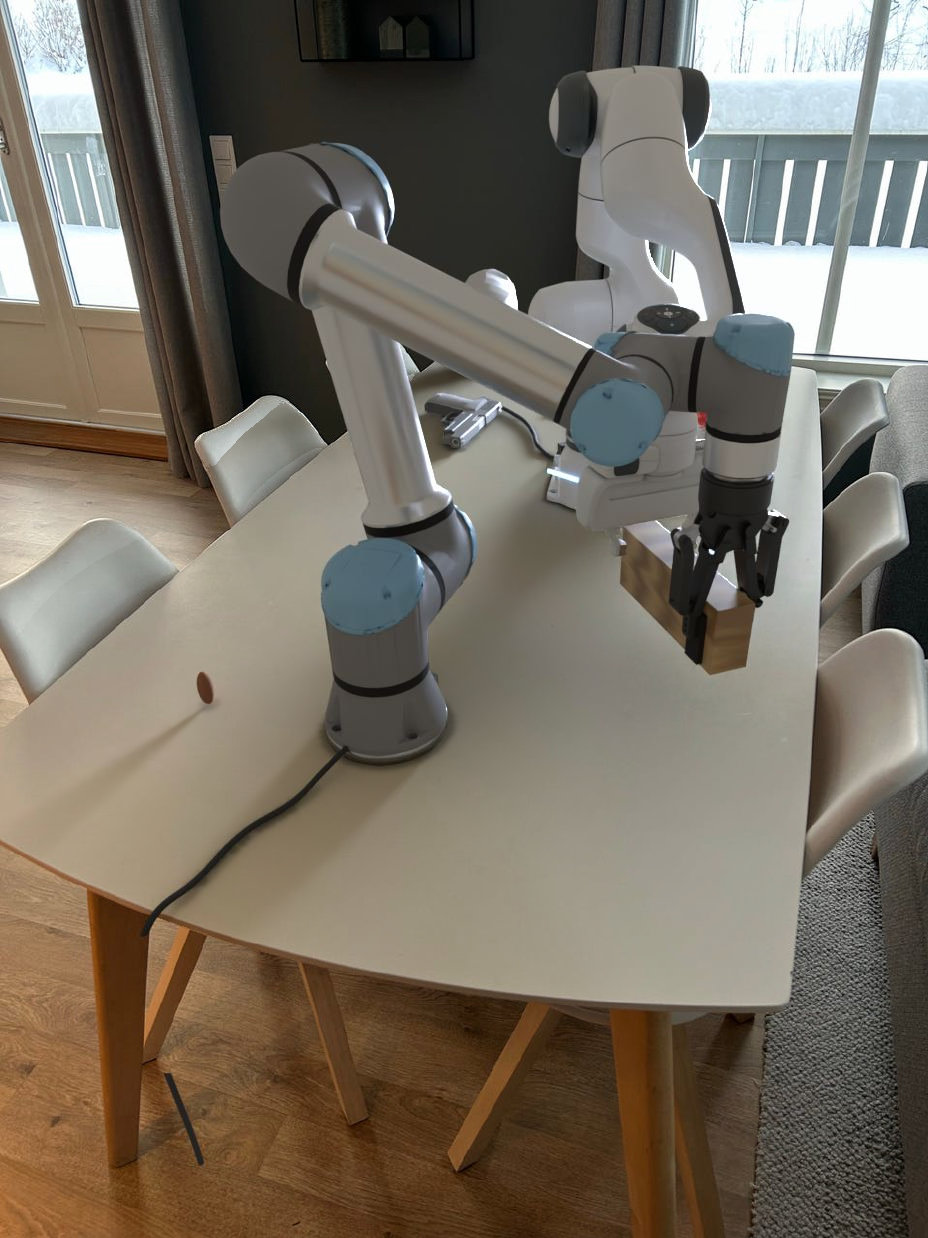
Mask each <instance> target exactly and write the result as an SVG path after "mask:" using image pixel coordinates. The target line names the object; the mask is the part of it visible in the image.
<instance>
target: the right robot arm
mask: <svg viewBox="0 0 928 1238" xmlns="http://www.w3.org/2000/svg"><path fill="white" fill-rule="evenodd" d="M711 113H712V97H711V93H710V84H709V81H708V79H707V77H706V76H705V74H704V72H703V71H702V70H699V69H697V68H693V67H689V66H683V65H679V66H678V67H677V68H675V67H668V66H656V65H631V66H630V67H617V68H615V67H614V68H607V69H600V70H595V71H589V72H587V71H586V70H584V69H583V70H579V71H575V72H572V73H568V74H566V75H564V76H563V77H562V78H561V79H560V80H559V82H558V83H556V85H555V90H554V93H553V95H552V97H551V101H550V104H549V110H548V124H549V130H550V133H551V137H552V139H553V141H554V146H555V147H556V149H558V151H559V152H560V153H561V154H563V155H565V156H569V157H572V158H579V159H581V160H580V167H579V176H578V187H577V205H576V206H577V208H576V221H575V222H576V224H575V239H576V243H577V245H578V247H579V249H580V250H581V251H582V252H583V253H584V254H585V255H586V256H587V257H589V258H591V259H593V260H595V261H596V262H598V263H601V264H603V265H604V266H607V267H608V268H609V274H608V277H606V278H603V279H589V280H572V281H563V282H559V283H556V284H553V285H549V286H545V287H542V288H540V289H538V290H537V292H536V293H535V294H534V296H533V297H532V299H531V302H530V304H529V307H528V311H527V315H529V316H531V317H533V318H535V319H537V320H539V321H541V322H543V323H545V324H547V325H549V326H551V327H553V328H555V329H557V330H559V331H561V332H563V333H565V334H567V335H569V336H571V337H573V338H575V339H577V340H579V341H581V342H583V343H585V344H587V345H589V346H591V348H594V344H595V342H596V340H597V338H598V337H599V336H600V335H602V334H603V333H607V332H627V331H636V332H640V333H654V334H670V335H686V336H705V337H706V336H713V334H714V332H715V330H716V326H717V323H718V321H719V320H720V319H722V318H724V317H725V316H728V315H732V314H747V313H748V312H747V309H746V306H745V302H744V298H743V295H742V290H741V285H740V282H739V277H738V273H737V269H736V265H735V261H734V255H733V252H732V248H731V243H730V239H729V235H728V232H727V228H726V225H725V221H724V217H723V215H722V212H721V209H720V207H719V205H718V202H717V200H716V199H715V198H714V197H712V196H710V195H709V194H707V193H705V192H704V191H703V190H702V188H701V187H700V186H699V184H698V183H697V181H696V179H695V177H694V176H693V173H692V171H691V168H690V165H689V155H688V151H690V150H692V149H694V148H695V147H696V146H697V145H698V144H699V143H700V142H701V141H702V140H703V138H704V136H705V133H706V130H707V127H708V125H709V121H710V117H711ZM649 242H650V243H652V244H657V245H658V246H659V245H660V246H662V247H665V248H666V249H669V250H672V251H674V252H676V253H678V254H680V255H681V256H683V257H684V258H686V259H687V260H688V261H689V262H690V264H692V266H693V268H694V269H695V272H696V276H697V280H698V284H699V289H700V293H701V297H702V302H703V307H704V310H705V315H706V318H704V319H702V318H701V317H700V315H699V314H698V313H697V312H696V311H695V310H693V309H692V308H690V307H687V306H684V305H682V300H681V297H680V293H679V292H678V290H677V288H676V286H675V285H674V284H673V283H672V282H671V281H670V280H669V279H668V278H666V277H665V276H664V275H663V274H662V273H661V272H660V271H659V270H658V268H657V266H656V265H655V263H654V261H653V258H652V257H651V253H650V249H649ZM501 410H502V412H503V411H504V412H505V413H507V414H509V415H511V416H512V417H514V418H516V419H518V421H520V422H521V423H523V424H524V425H525V427H527V429H528V431H529V432H530V434H531V436H532V440H533V444H534V446H535V448H537V449H538V451H539V452H540V453H542V455H544V456H545V457H547V458H548V459H550V460H553V467H554V469H551V468H547V470H546V472H547V474H551V478H550V481H549V486H548V490H547V491H546V497H545V498H546V500H547V501H549V502H553V503H558V504H561V505H563V506H565V507H567V508H570V509H573V510H575V515H576V516H575V517H576V519H577V520H578V522H579V523H580V524H581V525H582V526H583V527H584V528H585V529H587V530H588V531H589V532H591V533H596V532H600V531H603V532H604V534H605V535H606V537H607V539H608V540H609V541H610V542H609V552H610V554H611V555H612V556H613V558H618V557H621V556H623V555H626V551H625V550H626V548H627V544H626V543H625V542H623V538H622V537H620V538H618V537H617V535H619V534H620V533H621V528H623V527H625V526H630V525H635V524H641V523H646V522H652V521H660V520H665V519H666V520H667V519H672V518H677V517H682V516H686V517H685V519H684V521H683V523H682V525H681V526H679V527H677V528H678V529H680V530H681V531H682V530H684V529H686V528H688V527H689V526H691V525H693V523H694V519H695V517H696V516H697V514H698V511H699V502H698V491H699V482H700V473H701V470H702V469H703V468H704V466H703V464H702V458H703V449H704V439H702V440H696V437H697V426H698V419H697V414H696V413H691V412H678V411H669V412H668V414H667V415H666V417H665V420H664V422H663V424H662V430H661V432H660V434H659V435H658V437H657V439H656V440H655V441H653V442H652V443H651V445H650V446H649V447H648V448H647V450H646V451H645V452H644V453H643V454H642V455H641V456H640V457H639V458H638V459H636V460H635V461H633V462H631V463H629V464H626V465H623V466H616V467H609V466H602V465H599V464H596V463H594V462H592V461H590V460H588V459H587V458H586V457H585V456H583V454H582V453H581V452H580V451H579V449H578V448H577V446H576V445H575V443H574V442H573V439H572V436H571V431H570V430H568V429H566V428H565V441H561V442H557V451H556V454H551V453H550V452H548V451H547V450H546V449H545V448H544V447H543V446H542V445H541V443H539V440H538V436H537V432H536V430H535V429H534V427H533V425H532V424H531V423H530V422H529V421H528V420H527V419H526V418H525V417H524V416H522V415H521V414H520V413H517V412H515V411H514V410H512V409H510V408H509V407H506V406H504V405H502V408H501Z"/></svg>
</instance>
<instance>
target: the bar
mask: <svg viewBox="0 0 928 1238" xmlns="http://www.w3.org/2000/svg"><path fill="white" fill-rule="evenodd" d="M670 533H671V531H669V530H668V529H667V528H665V526H663V525H662V524H661V523H660V522H658V520H655V521H650V522H644V523H639V524H634V525H628V526H623V527H622V540H623V542H625V543H626V544H627V548H626V550H625V551H626V555H623V556H620V557H621V561H620V575H619V585H620V586H621V587H622V588H623V589H624V590H625V591H626V592H627V593H628V594H629V595H630V596H631V597H632V598H633V599H634V600H635V602H636V603H638V604H639V605H640V607H642V608H643V609H644V610H645V611H646V612H647V613H648V614H649V615H650V616H651V617H652V619H654V620H655V622H657V623H658V624H659V625H660V626H661V627H662V628H663V629H664V630H665V632H667V633H668V635H669V636H670V637H672V638H673V640H675V641H676V642H677V644H678V645H679V646H681V648H682V649H683V650H684V651H685V644H686V636H685V635H684V634H683V633H682V621H683V615H682V616H681V615H680V614H679V613H678V612H677V611H676V610H675V609H673V608H672V607H671V606H670V605H669V603H668V600H669V590H670V580H671V571H672V561H673V551H674V547H673V543H672V540H671V536H670ZM694 554H695V557H694V567H695V564H696V561H697V558H698V555H699V554H697V553H695V552H694ZM694 567H693V570H694ZM754 611H755V612H756V608H755V603H754V602H753V601H752V600H751V599H749V598H748V597H747V596H746V595H745V594H743V593H742V592H741V591H740V590H739V589H738V587H736V586H735V585H734V584H733V583H732V582H730V581H729V580H728V579H727V578H726V577H725V576H723V575H722V574H721V573H720V572H719V571H717V572H716V575H715V578H714V580H713V583H712V586H711V589H710V592H709V594H708V597H707V600H706V603H705V606H704V608H703V611H702V612H704V613H705V614H706V615H707V616H708V618H707V626H706V634H705V642H704V650H703V659H702V664H699V666H700V667H701V668H702V669H703V670H704V671H705V672H706V673H707V674H708V675H709V676H714V675H718V674H722V673H726V672H731V671H735V670H738V669H743V668H747V663H748V655H749V650H750V649H749V648H750V644H751V636H752V631H753V630H752V629H753V624H754V619H753V617H755V613H754Z"/></svg>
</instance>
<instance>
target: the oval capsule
mask: <svg viewBox="0 0 928 1238" xmlns="http://www.w3.org/2000/svg"><path fill="white" fill-rule="evenodd" d="M196 689H197V694H198V695H199V698H200V700H201V701H202V702H203V703H204V704H206V705H210V704H211V703H212V702H213V701H214V699H215V688H214V683H213V680H212V679H211V677H210V675H209V674H208V673H207V672H206V671H200V672H199V673H198V674H197V677H196Z"/></svg>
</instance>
